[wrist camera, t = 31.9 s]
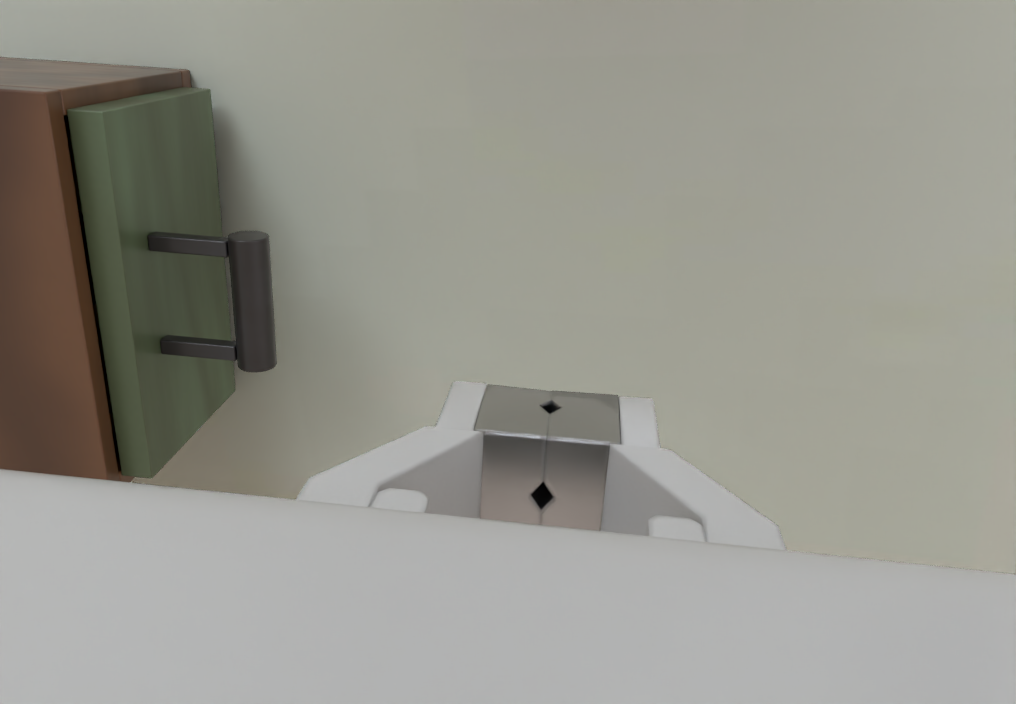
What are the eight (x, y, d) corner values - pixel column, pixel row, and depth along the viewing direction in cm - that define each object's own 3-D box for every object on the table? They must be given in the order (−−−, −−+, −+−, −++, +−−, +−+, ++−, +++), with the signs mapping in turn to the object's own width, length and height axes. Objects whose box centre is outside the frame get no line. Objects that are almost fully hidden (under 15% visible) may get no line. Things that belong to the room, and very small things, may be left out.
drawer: (315, 95, 33) (235, 121, 25) (326, 399, 38) (262, 490, 31) (-129, 65, 34) (-324, 81, 27) (-59, 362, 39) (-206, 441, 32)
